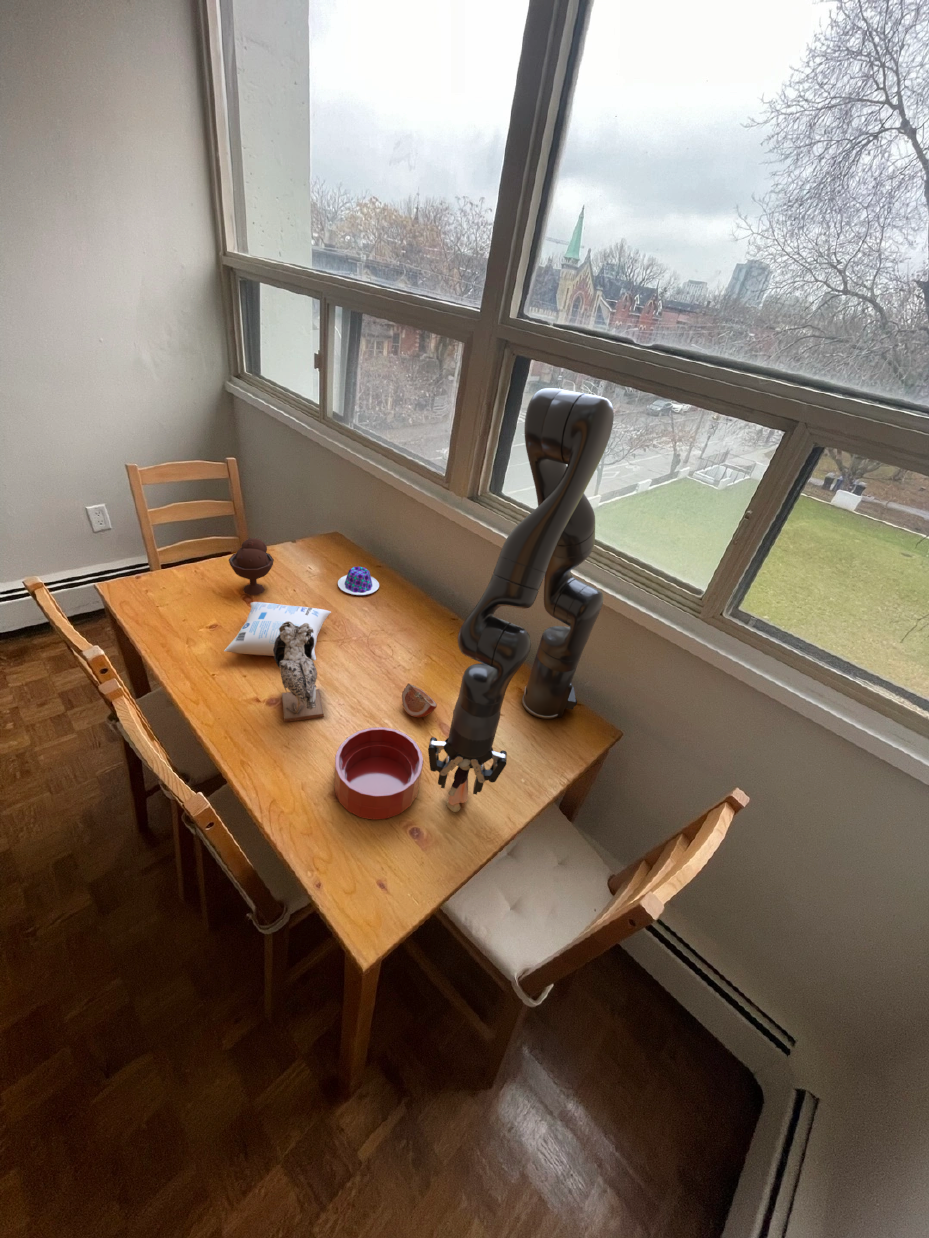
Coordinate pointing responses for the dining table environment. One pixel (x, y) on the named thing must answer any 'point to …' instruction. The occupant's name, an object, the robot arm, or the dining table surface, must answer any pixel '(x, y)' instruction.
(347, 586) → the pudding
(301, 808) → the dining table surface
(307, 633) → the stuffed bird
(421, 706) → the fruit slice
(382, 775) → the red bowl
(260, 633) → the pouch
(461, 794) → the grandmother figurine
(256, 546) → the ice cream bowl
